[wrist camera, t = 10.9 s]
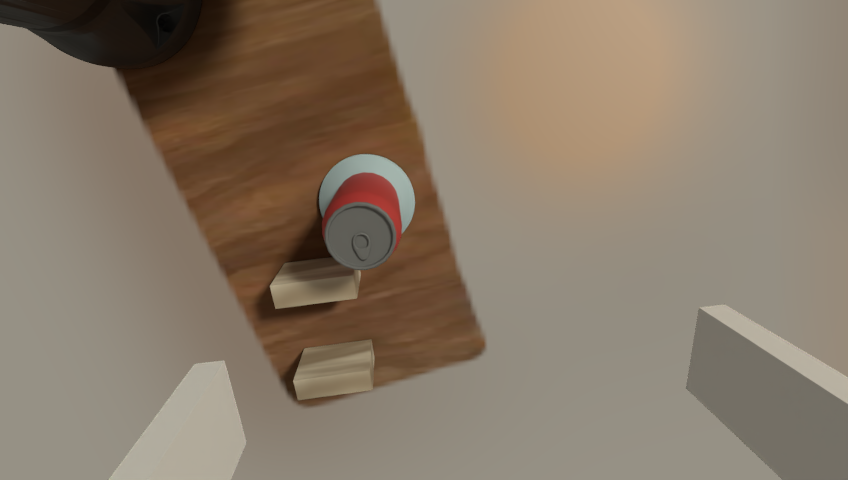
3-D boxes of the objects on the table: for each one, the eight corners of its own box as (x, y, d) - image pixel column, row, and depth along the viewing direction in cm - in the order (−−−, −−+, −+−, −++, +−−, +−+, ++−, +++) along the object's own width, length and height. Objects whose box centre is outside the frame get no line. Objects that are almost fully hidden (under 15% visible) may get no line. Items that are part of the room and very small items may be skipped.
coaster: (311, 159, 42) (310, 160, 41) (408, 148, 42) (409, 149, 41) (328, 250, 45) (328, 252, 44) (419, 239, 45) (419, 241, 45)
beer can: (341, 235, 44) (325, 281, 32) (330, 174, 42) (309, 200, 30) (402, 228, 44) (407, 271, 33) (395, 167, 42) (398, 191, 31)
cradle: (284, 262, 45) (269, 285, 39) (357, 253, 45) (353, 275, 39) (308, 366, 49) (297, 400, 43) (374, 357, 49) (372, 389, 44)
